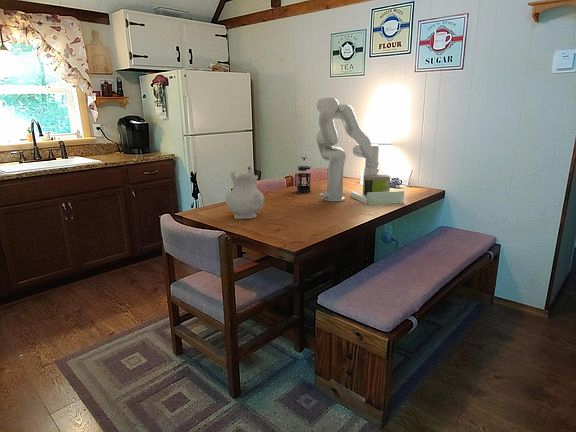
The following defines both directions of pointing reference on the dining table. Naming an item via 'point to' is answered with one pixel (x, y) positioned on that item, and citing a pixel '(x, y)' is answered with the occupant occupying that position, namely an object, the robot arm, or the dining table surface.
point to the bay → (380, 197)
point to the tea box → (375, 183)
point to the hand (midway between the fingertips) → (369, 193)
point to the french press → (303, 188)
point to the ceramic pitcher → (245, 196)
